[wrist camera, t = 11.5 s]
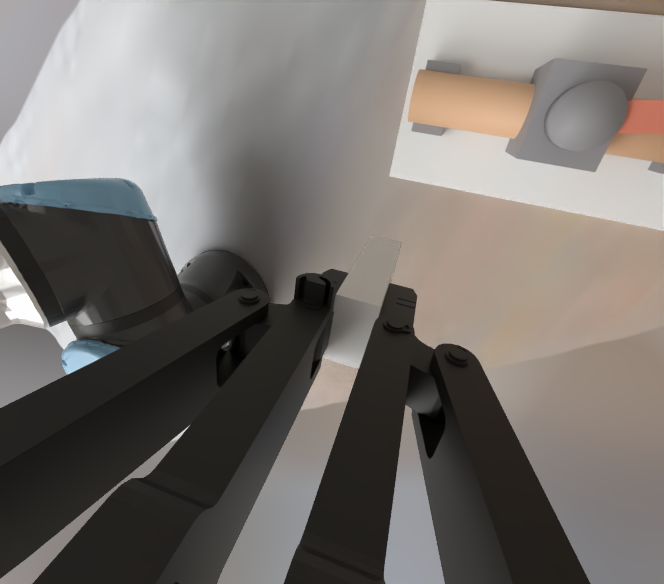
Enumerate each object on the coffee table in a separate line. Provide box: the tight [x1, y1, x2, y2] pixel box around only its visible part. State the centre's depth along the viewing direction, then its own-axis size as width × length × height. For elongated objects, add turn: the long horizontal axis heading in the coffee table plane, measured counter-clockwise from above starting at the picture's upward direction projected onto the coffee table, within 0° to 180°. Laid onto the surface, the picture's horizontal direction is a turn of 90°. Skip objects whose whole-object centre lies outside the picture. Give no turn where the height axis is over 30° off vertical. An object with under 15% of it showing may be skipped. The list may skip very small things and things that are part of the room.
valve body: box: [389, 0, 664, 231], centre depth 29 cm, size 28×16×8 cm, turn 82°
